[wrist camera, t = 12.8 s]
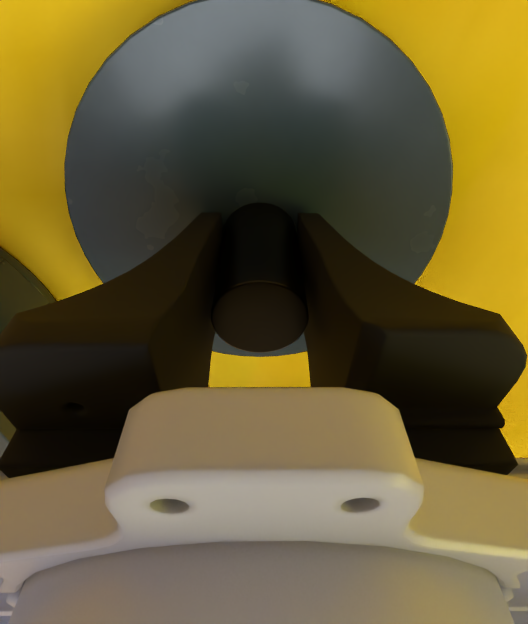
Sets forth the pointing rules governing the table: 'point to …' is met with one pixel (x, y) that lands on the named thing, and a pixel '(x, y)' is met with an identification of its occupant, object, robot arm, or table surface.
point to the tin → (16, 311)
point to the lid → (258, 154)
